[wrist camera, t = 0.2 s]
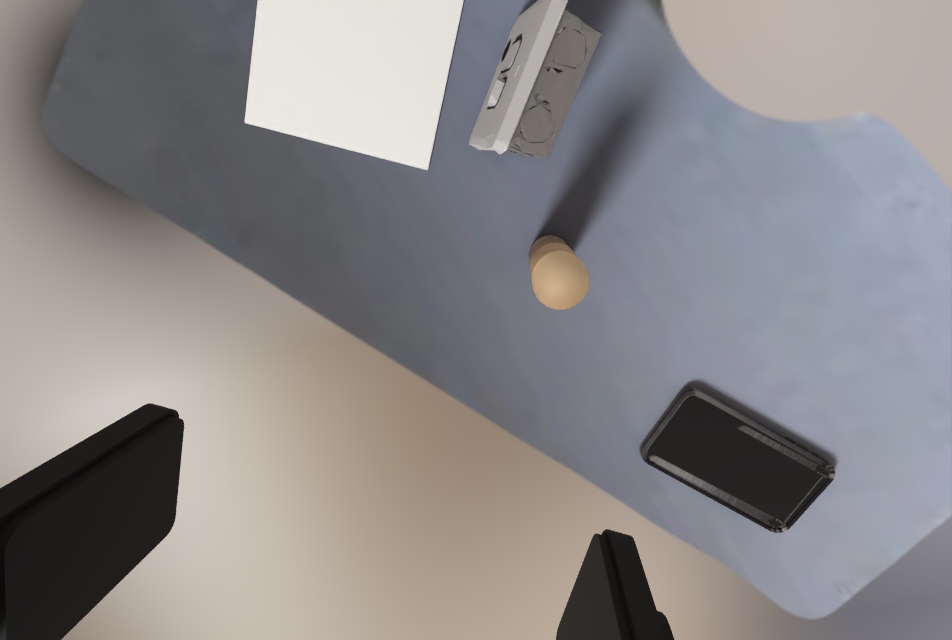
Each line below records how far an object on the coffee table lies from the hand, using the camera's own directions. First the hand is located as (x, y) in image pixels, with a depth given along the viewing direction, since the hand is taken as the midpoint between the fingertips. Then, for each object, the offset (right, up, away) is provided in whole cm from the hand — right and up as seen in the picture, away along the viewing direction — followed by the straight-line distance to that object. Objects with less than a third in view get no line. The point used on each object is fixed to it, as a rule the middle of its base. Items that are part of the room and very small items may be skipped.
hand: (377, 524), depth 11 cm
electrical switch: (+6, +21, +26) cm, 34 cm away
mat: (-7, +25, +26) cm, 37 cm away
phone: (+25, -7, +32) cm, 41 cm away
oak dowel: (+8, +10, +29) cm, 31 cm away
